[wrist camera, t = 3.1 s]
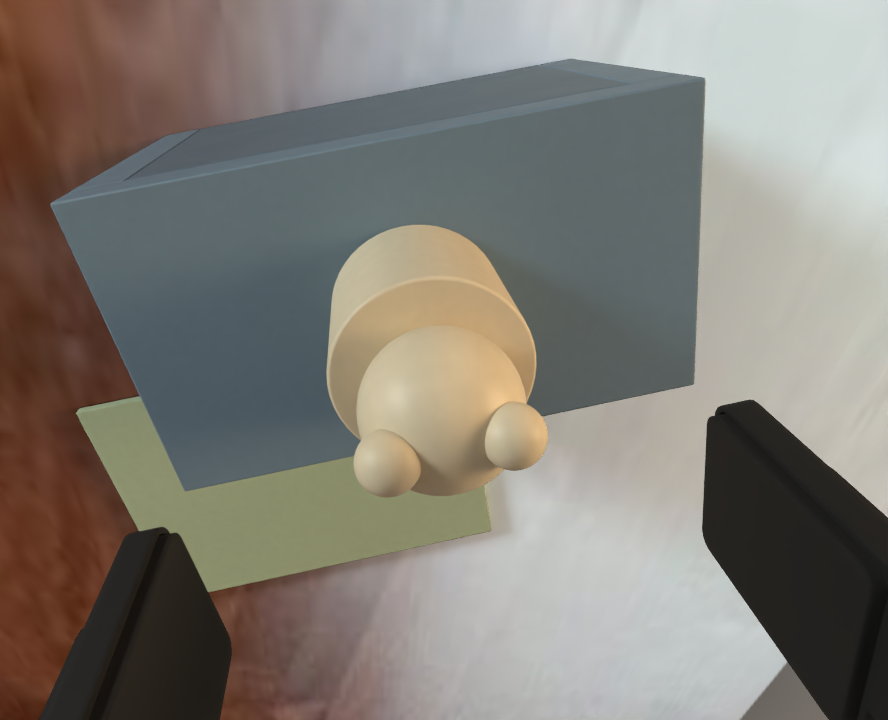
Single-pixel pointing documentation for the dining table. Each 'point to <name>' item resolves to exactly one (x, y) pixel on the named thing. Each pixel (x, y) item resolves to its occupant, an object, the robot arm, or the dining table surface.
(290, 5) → the dining table surface
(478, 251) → the bear
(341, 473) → the mat
